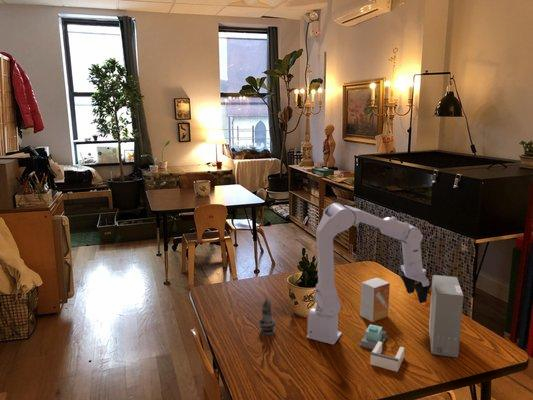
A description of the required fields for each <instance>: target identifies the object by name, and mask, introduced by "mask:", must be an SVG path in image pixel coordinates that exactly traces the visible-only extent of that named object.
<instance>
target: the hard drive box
mask: <svg viewBox="0 0 533 400" xmlns="http://www.w3.org/2000/svg"><path fill="white" fill-rule="evenodd" d="M431 279H432V280H431V284H432V285H431V295H430V306H429V307H430V309H429V322H428V323H429V325H428V332H429V333H428V334H429V342H430V351H431V352H430V353H431V354H433V355H435V356H443V357H444V356H446V357H450V358H459V352H460V341H461V329H462V328H461V327H462V318H463V306H464V305H463V304H464V298H465V297H464V294H463V289H462V287H461V285H460V282H459V279H458V277H456V276H449V275H440V274H439V275H438V274H437V275H436V274H432V278H431Z"/></svg>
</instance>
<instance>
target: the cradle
mask: <svg viewBox="0 0 533 400" xmlns="http://www.w3.org/2000/svg"><path fill="white" fill-rule="evenodd" d="M387 338H388V335H387V331H386V330H382V340H381V342H382V346H383V345H384V343H385V341H386V340H387ZM377 343H378V342H375V341H371V340H367V339H365V336H364V337H362V338H361V340H360V343H359V347H362V348H365V349H369V350H372V351H373V350H374V348H375V346H376V344H377Z"/></svg>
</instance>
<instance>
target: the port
mask: <svg viewBox="0 0 533 400" xmlns="http://www.w3.org/2000/svg"><path fill="white" fill-rule="evenodd" d="M382 352H383V345H382V341H381V342H380V341H378V343H377V344H376V346H375V348H374V350H373V349H372V351H371V352H370V363H369V364H370V365H372V366H375V367H379V368H382V369H386V370H390V371H393V372H398V371H399V369H400V367H401V365H402V363H403V360H404V358H405V347H403V346H399V348H398V350H397V352H396V355H395V356H394V357H393V356H390V355H385V354H382Z"/></svg>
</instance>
